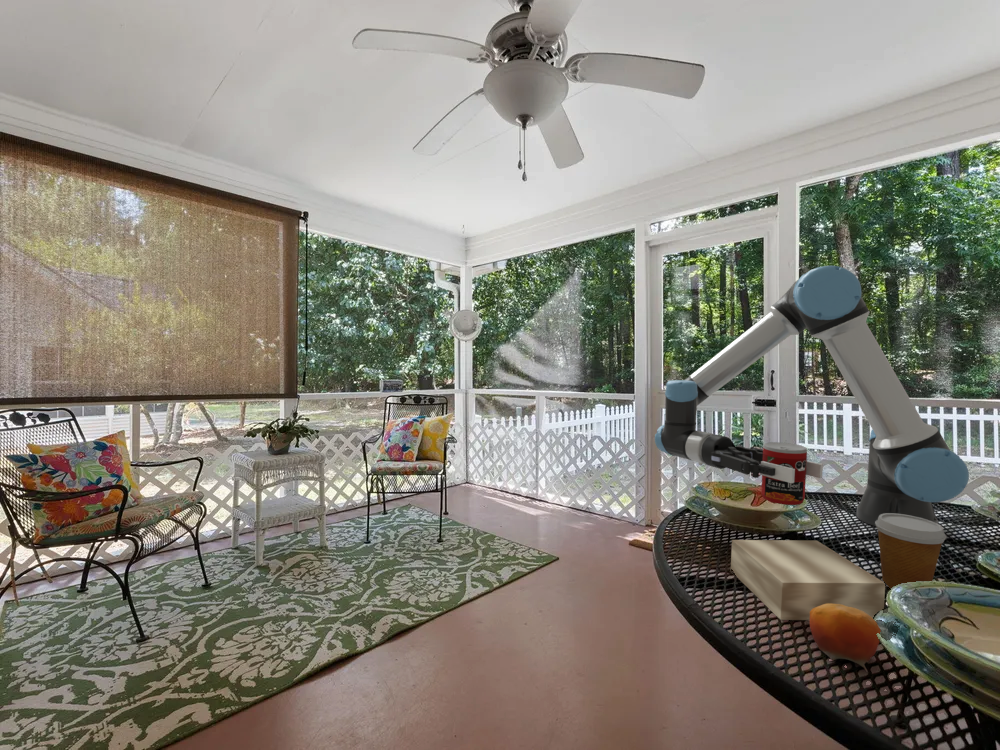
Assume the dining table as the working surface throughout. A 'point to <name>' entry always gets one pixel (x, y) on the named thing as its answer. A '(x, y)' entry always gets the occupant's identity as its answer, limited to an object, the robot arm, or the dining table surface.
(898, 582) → the disposable coffee cup
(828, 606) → the fruit
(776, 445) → the canned food
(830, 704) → the dining table surface
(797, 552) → the birch block
